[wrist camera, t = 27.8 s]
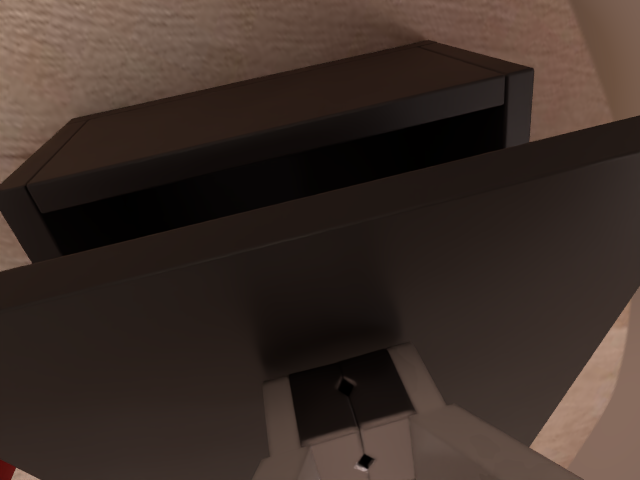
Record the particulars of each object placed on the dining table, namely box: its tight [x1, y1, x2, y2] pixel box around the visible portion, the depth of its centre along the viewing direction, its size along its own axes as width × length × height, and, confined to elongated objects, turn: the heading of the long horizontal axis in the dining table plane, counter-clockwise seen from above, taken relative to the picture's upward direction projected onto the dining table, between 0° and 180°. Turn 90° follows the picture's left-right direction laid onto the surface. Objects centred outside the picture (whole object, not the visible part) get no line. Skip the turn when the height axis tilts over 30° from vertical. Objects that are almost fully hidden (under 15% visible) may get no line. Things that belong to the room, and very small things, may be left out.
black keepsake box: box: [0, 40, 534, 264], centre depth 18 cm, size 16×14×7 cm
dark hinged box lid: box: [0, 116, 640, 480], centre depth 13 cm, size 16×14×1 cm
